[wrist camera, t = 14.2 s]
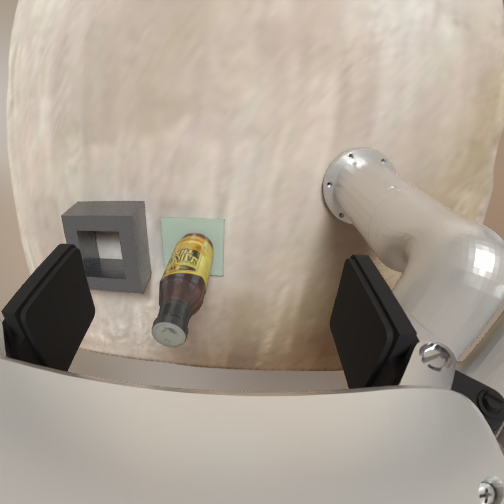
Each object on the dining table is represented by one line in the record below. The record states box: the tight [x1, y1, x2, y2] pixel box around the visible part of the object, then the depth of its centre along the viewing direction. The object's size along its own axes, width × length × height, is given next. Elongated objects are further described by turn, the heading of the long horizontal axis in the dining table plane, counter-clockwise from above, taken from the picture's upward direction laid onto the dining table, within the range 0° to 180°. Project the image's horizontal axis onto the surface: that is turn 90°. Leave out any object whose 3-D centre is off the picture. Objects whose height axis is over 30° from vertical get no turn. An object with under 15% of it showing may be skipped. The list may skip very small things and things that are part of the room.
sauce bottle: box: [152, 233, 214, 347], centre depth 41 cm, size 7×6×20 cm
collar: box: [61, 201, 151, 293], centre depth 46 cm, size 12×13×6 cm
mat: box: [161, 217, 224, 276], centre depth 50 cm, size 10×10×1 cm
